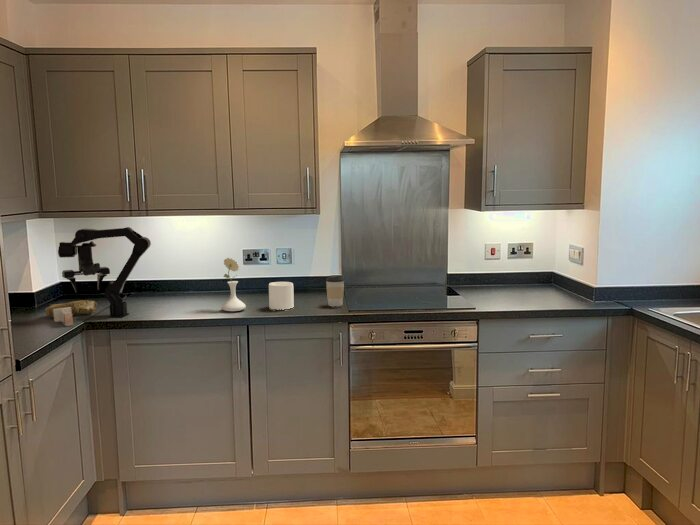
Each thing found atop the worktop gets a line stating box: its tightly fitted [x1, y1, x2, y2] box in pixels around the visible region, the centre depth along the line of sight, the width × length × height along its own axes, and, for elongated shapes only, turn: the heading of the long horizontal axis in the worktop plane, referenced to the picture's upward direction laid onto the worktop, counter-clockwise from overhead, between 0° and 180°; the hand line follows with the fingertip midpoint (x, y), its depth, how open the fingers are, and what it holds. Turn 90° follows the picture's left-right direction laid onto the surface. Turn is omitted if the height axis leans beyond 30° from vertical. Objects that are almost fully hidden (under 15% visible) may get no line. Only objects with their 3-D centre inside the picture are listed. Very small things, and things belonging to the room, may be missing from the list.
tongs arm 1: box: [59, 309, 69, 327], centre depth 237 cm, size 12×1×5 cm, turn 37°
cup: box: [268, 281, 295, 310], centre depth 265 cm, size 12×12×12 cm
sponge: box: [45, 299, 98, 318], centre depth 253 cm, size 13×8×20 cm
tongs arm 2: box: [63, 309, 74, 327], centre depth 238 cm, size 12×1×5 cm, turn 37°
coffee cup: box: [325, 274, 345, 307], centre depth 269 cm, size 9×9×15 cm
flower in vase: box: [221, 257, 247, 312], centre depth 260 cm, size 13×11×25 cm
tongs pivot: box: [53, 307, 72, 323], centre depth 244 cm, size 2×7×5 cm, turn 127°
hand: (87, 291), depth 248 cm, fingers open, 9 cm apart
